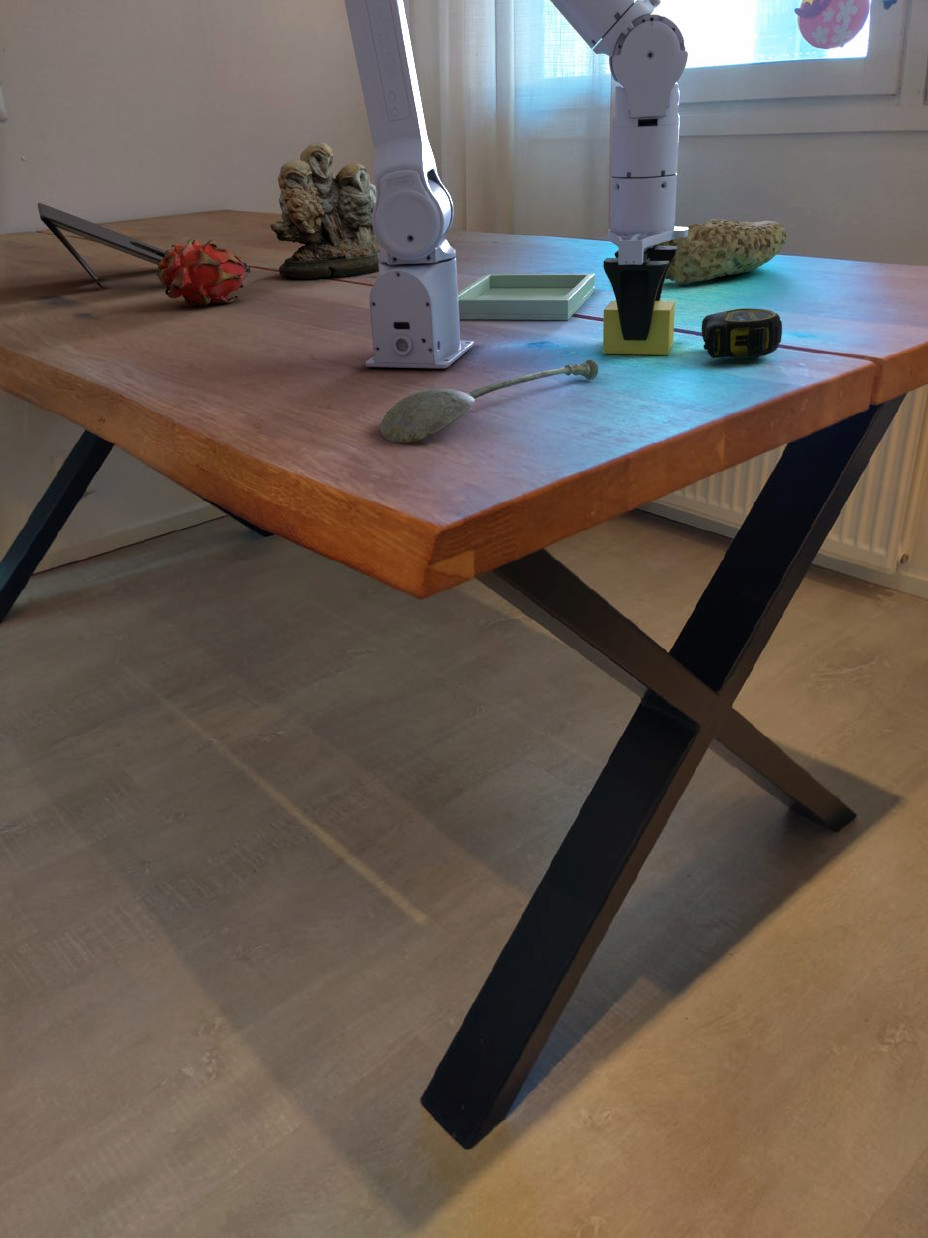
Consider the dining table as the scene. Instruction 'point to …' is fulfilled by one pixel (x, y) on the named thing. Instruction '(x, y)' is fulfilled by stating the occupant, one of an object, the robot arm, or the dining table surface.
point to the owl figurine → (326, 216)
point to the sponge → (723, 249)
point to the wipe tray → (525, 296)
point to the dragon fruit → (201, 273)
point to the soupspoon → (453, 405)
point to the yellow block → (657, 337)
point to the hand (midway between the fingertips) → (638, 333)
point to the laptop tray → (95, 237)
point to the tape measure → (741, 333)
